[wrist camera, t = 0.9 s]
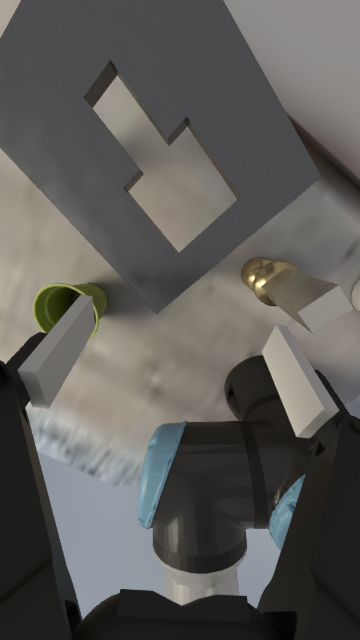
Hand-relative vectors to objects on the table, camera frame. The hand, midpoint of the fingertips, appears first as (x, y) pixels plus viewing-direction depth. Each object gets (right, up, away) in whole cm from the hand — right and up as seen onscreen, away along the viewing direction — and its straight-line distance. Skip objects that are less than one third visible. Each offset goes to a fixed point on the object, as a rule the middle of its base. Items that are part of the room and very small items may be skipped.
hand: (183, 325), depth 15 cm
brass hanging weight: (+12, +8, +20) cm, 25 cm away
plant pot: (-16, +4, +23) cm, 29 cm away
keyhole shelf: (-2, +20, +16) cm, 26 cm away
